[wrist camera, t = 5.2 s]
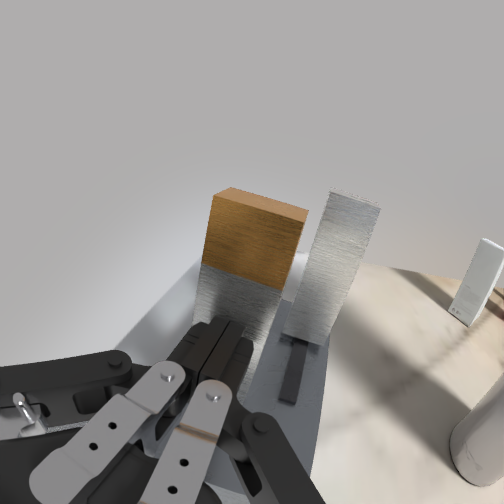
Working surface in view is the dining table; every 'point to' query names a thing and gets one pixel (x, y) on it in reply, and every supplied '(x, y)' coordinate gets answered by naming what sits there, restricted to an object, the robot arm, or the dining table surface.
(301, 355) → the console
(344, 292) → the grey upright block
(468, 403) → the dining table surface
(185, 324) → the dining table surface
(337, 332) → the dining table surface
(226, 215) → the knob orange
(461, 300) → the skincare box
